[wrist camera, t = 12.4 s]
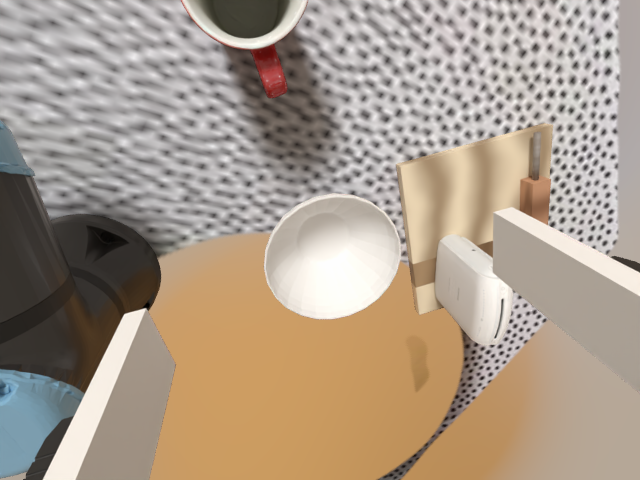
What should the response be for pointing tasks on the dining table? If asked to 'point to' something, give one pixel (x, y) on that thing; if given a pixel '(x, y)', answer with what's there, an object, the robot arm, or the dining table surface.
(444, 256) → the photo printer
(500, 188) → the light wooden cutting board
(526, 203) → the awl
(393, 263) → the bowl
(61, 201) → the dining table surface
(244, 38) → the mug
